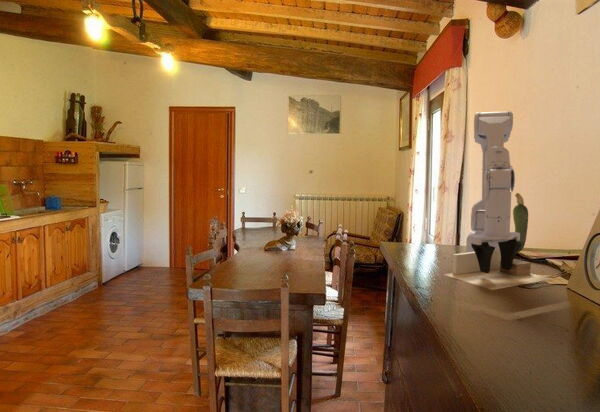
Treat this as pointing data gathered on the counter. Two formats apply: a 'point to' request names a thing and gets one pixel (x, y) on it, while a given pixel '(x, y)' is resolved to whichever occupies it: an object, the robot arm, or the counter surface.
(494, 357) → the counter surface
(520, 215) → the vegetable
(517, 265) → the walnut block
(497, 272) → the birch board
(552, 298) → the counter surface
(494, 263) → the beige rectangular slab
